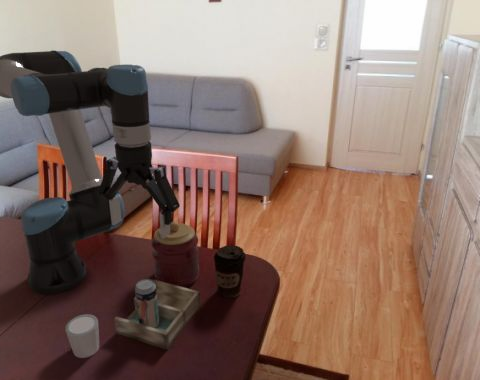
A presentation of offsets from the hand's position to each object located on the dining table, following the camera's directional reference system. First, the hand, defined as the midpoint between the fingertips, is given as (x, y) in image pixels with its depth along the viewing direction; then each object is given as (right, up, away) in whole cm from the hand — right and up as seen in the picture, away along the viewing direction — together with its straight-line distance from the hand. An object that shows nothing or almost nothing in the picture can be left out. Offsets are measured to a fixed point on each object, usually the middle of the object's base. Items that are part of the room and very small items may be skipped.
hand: (140, 229), depth 93 cm
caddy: (+3, -23, +7) cm, 24 cm away
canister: (+5, -16, +24) cm, 29 cm away
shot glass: (-12, -27, -2) cm, 30 cm away
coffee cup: (+20, -19, +17) cm, 33 cm away
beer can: (+1, -24, +3) cm, 24 cm away
